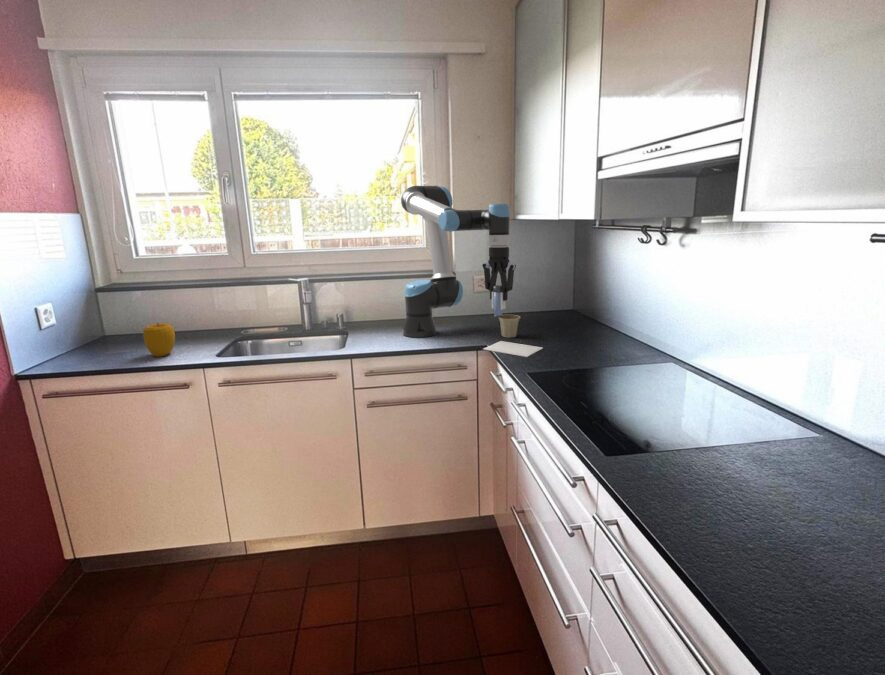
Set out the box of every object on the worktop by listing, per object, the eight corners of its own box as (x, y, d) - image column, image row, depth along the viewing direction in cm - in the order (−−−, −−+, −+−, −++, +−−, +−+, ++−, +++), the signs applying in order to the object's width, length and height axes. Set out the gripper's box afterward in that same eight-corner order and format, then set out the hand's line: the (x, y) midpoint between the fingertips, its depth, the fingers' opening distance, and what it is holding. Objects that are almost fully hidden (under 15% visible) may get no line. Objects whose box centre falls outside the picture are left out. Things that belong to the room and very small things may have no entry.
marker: (492, 316, 185) (491, 286, 181) (497, 315, 187) (497, 284, 184) (498, 318, 182) (498, 287, 179) (504, 316, 184) (504, 285, 181)
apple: (182, 354, 189) (177, 322, 186) (151, 360, 182) (145, 327, 178) (173, 349, 197) (168, 318, 193) (143, 355, 189) (137, 323, 186)
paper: (482, 349, 188) (482, 348, 187) (500, 341, 198) (500, 340, 198) (526, 357, 177) (526, 356, 176) (543, 348, 187) (543, 347, 187)
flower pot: (519, 333, 211) (519, 314, 209) (520, 339, 202) (521, 319, 200) (498, 333, 212) (498, 314, 210) (498, 338, 203) (498, 319, 201)
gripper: (475, 246, 180) (475, 308, 186) (513, 247, 171) (512, 312, 176) (485, 245, 186) (485, 305, 192) (523, 246, 176) (522, 308, 182)
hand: (498, 308), depth 184 cm, fingers closed on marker, 3 cm apart
